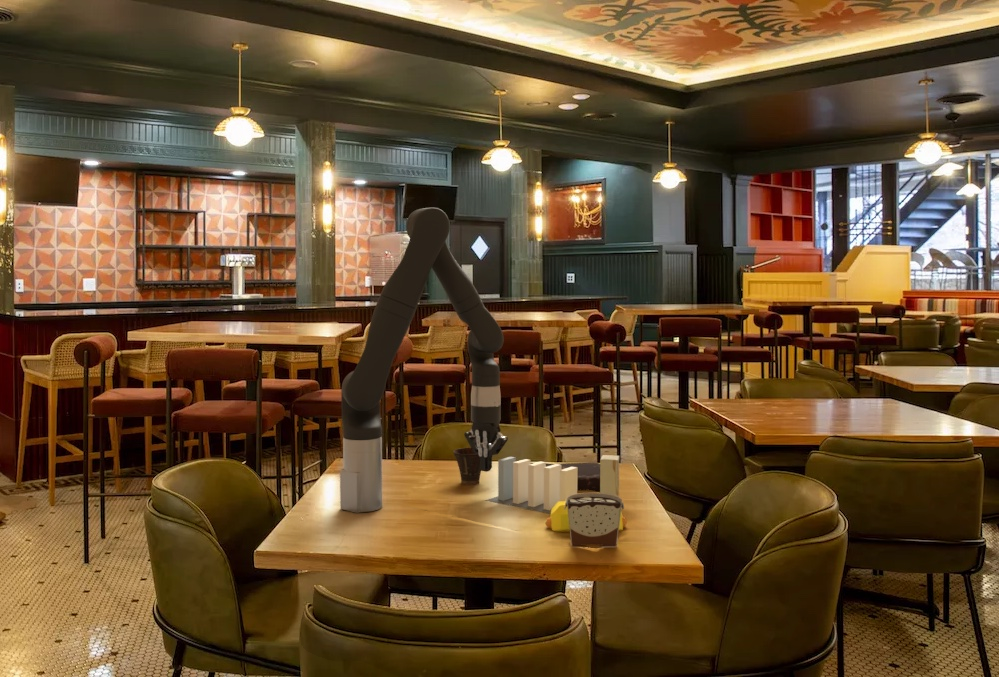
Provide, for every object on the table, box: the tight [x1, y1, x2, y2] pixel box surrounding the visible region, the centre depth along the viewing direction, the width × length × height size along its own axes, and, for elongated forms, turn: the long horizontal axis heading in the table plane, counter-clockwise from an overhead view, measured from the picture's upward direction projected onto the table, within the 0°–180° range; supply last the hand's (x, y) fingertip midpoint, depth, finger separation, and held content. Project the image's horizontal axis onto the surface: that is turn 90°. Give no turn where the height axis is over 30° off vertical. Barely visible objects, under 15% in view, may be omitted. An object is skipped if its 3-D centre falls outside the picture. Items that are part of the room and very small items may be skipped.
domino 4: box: [544, 463, 561, 510], centre depth 202 cm, size 5×2×10 cm, turn 142°
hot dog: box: [545, 501, 627, 533], centre depth 185 cm, size 18×7×8 cm
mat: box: [485, 495, 552, 515], centre depth 205 cm, size 10×25×1 cm, turn 51°
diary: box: [531, 461, 600, 493], centre depth 227 cm, size 19×25×5 cm
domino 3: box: [528, 460, 547, 507], centre depth 204 cm, size 5×2×10 cm, turn 142°
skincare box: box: [599, 454, 620, 498], centre depth 204 cm, size 6×4×12 cm
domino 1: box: [497, 456, 517, 501], centre depth 210 cm, size 5×2×10 cm, turn 141°
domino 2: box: [513, 458, 532, 504], centre depth 207 cm, size 5×2×10 cm, turn 142°
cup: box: [453, 447, 482, 486], centre depth 227 cm, size 9×9×10 cm
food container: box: [564, 492, 625, 549], centre depth 176 cm, size 12×6×10 cm, turn 92°
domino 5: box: [560, 467, 578, 501], centre depth 199 cm, size 5×2×10 cm, turn 142°
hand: (485, 470), depth 214 cm, fingers closed
